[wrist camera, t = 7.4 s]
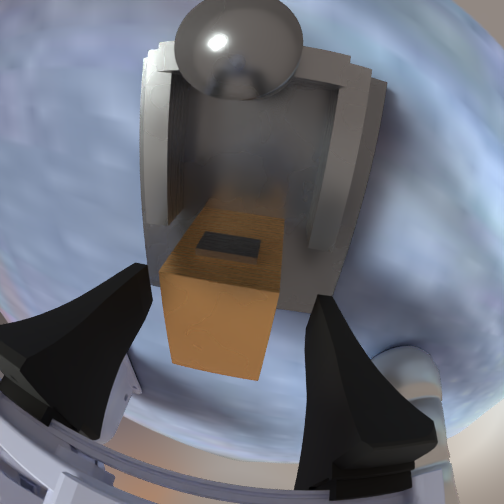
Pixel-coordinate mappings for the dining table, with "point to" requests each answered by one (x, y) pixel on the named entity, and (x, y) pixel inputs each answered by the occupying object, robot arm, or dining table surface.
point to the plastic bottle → (421, 404)
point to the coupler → (257, 138)
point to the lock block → (223, 292)
